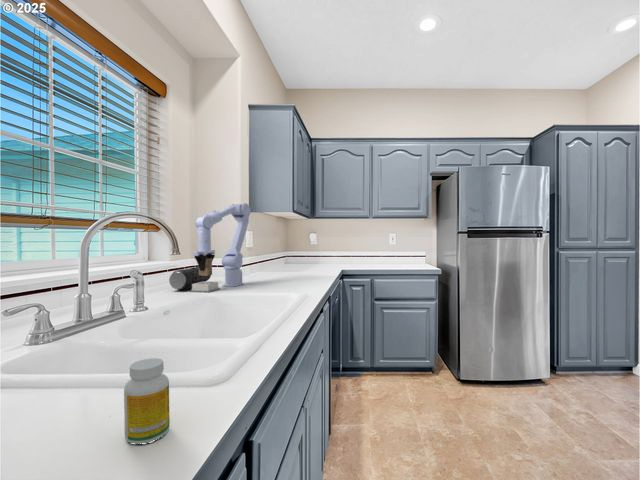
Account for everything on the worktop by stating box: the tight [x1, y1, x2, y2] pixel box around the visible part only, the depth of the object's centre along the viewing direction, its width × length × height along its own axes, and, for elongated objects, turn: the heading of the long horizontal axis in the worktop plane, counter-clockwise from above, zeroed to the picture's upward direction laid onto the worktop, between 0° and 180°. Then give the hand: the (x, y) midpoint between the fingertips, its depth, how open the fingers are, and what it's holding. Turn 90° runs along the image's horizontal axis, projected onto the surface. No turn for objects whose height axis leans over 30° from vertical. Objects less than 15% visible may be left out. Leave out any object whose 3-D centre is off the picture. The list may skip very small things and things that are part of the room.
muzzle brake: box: [168, 266, 212, 291], centre depth 174 cm, size 10×28×10 cm, turn 174°
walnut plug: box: [199, 258, 213, 276], centre depth 163 cm, size 4×4×9 cm
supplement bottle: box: [123, 357, 171, 444], centre depth 45 cm, size 5×5×10 cm
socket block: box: [189, 281, 221, 293], centre depth 163 cm, size 10×10×4 cm
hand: (205, 269), depth 163 cm, fingers closed on walnut plug, 4 cm apart
